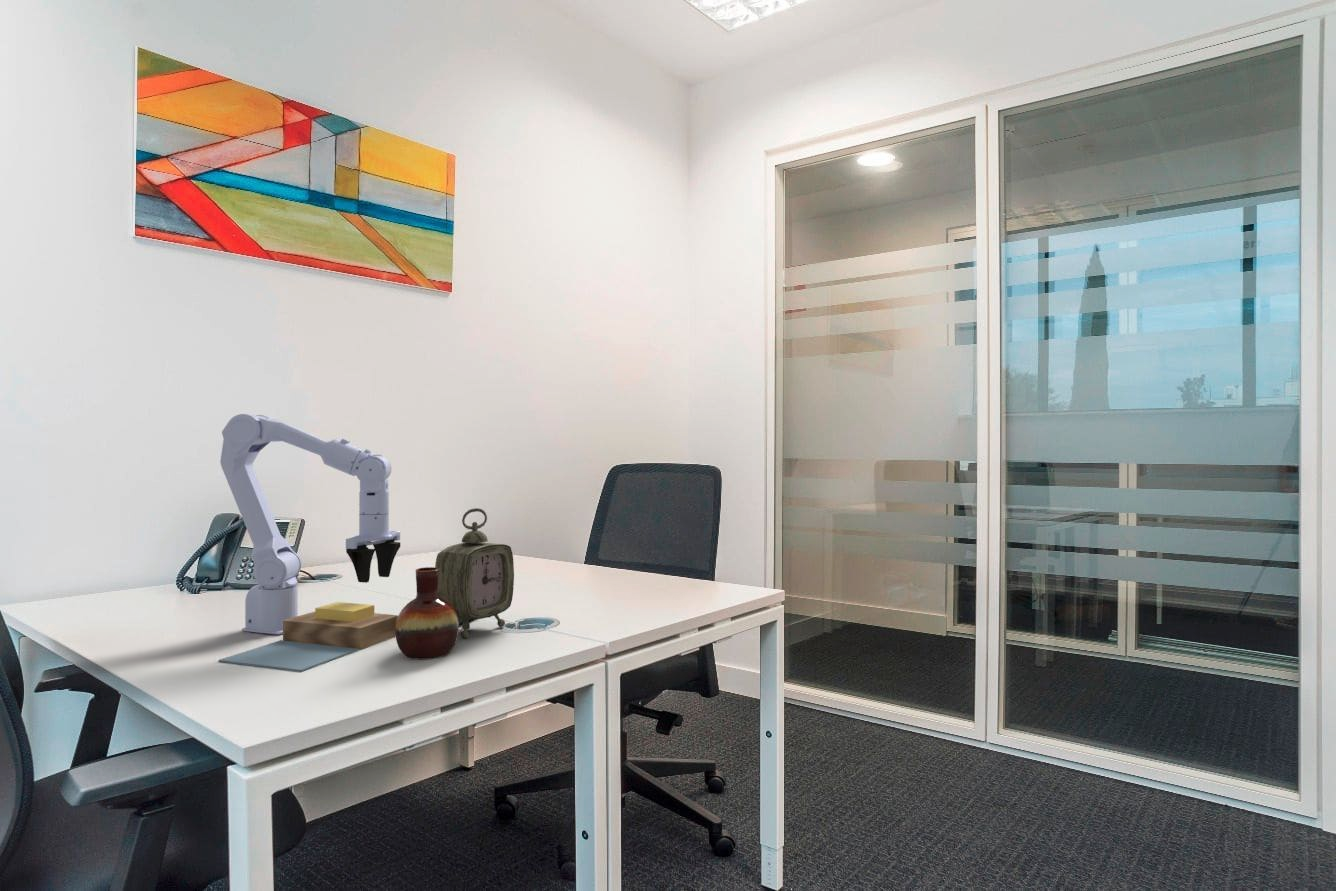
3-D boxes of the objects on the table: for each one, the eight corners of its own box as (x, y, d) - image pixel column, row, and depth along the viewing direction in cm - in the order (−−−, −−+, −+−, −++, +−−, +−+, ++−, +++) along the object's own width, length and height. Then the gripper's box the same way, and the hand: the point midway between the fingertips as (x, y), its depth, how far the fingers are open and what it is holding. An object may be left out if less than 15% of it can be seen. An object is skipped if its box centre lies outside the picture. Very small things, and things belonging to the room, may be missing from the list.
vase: (390, 663, 137) (390, 575, 137) (399, 646, 148) (399, 564, 148) (456, 660, 140) (456, 573, 139) (460, 644, 150) (460, 563, 150)
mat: (218, 661, 138) (218, 659, 138) (280, 641, 151) (280, 640, 151) (301, 671, 132) (301, 669, 132) (358, 650, 146) (358, 648, 146)
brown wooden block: (282, 641, 152) (282, 620, 152) (324, 628, 162) (324, 608, 162) (360, 649, 146) (360, 628, 146) (398, 635, 156) (398, 615, 156)
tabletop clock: (464, 642, 152) (464, 512, 152) (430, 636, 156) (430, 510, 156) (513, 626, 164) (514, 506, 164) (481, 621, 169) (481, 504, 169)
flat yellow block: (315, 618, 153) (315, 608, 153) (337, 611, 159) (337, 601, 159) (353, 621, 151) (353, 611, 151) (374, 615, 156) (374, 605, 156)
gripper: (366, 517, 155) (366, 586, 155) (412, 511, 168) (412, 574, 169) (337, 516, 157) (336, 584, 157) (384, 510, 171) (384, 572, 171)
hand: (373, 579), depth 163 cm, fingers open, 6 cm apart
